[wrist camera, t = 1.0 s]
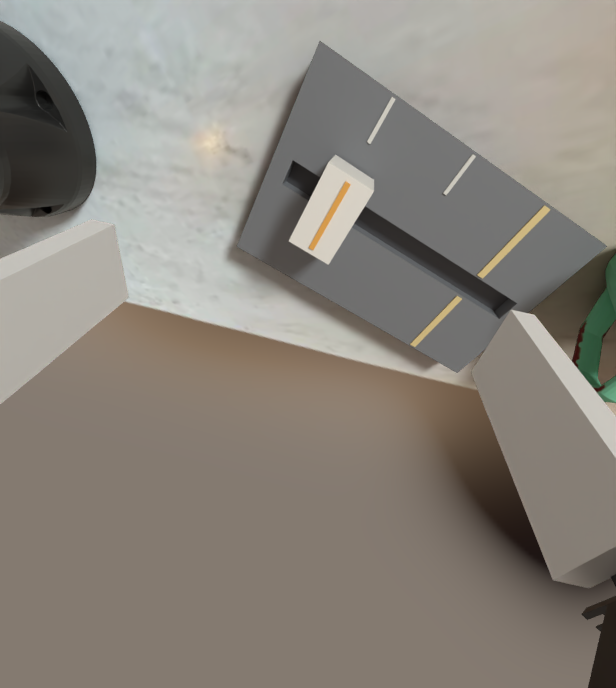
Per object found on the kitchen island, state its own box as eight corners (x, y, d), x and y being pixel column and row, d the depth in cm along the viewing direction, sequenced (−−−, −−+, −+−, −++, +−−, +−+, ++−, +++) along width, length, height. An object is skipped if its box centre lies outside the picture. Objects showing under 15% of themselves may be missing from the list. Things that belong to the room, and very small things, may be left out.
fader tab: (302, 219, 29) (288, 241, 24) (337, 152, 26) (328, 162, 21) (336, 240, 30) (328, 265, 25) (374, 176, 26) (374, 191, 21)
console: (246, 236, 33) (236, 247, 30) (325, 47, 24) (319, 40, 21) (451, 355, 37) (457, 373, 34) (587, 234, 28) (608, 246, 25)
